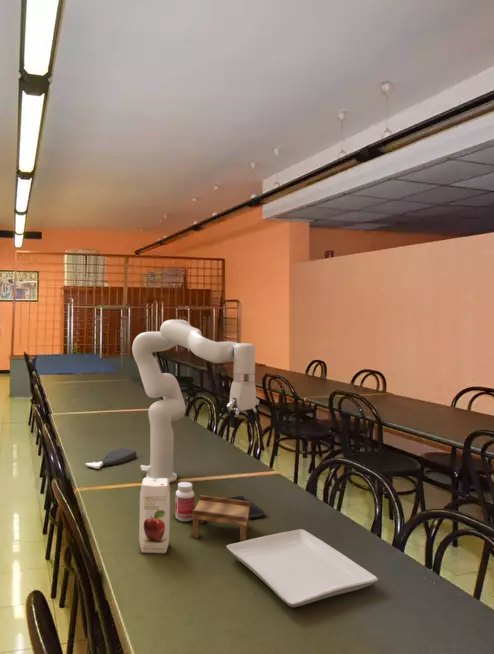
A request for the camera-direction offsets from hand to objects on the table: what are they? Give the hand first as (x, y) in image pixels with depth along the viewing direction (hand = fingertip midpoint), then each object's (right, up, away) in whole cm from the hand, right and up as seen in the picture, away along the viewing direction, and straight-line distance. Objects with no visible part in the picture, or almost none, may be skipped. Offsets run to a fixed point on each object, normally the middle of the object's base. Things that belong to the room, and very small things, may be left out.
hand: (242, 425), depth 160 cm
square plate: (+6, -28, -44) cm, 53 cm away
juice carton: (-31, -27, -32) cm, 53 cm away
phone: (-1, -27, -6) cm, 28 cm away
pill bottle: (-22, -27, -13) cm, 37 cm away
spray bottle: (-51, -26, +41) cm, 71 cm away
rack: (-11, -27, -23) cm, 37 cm away
